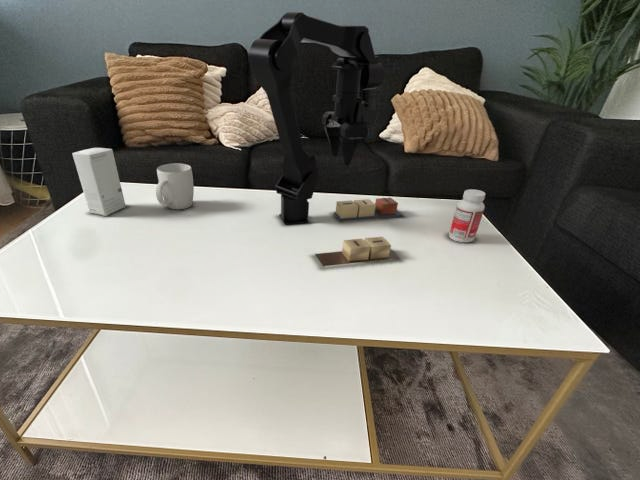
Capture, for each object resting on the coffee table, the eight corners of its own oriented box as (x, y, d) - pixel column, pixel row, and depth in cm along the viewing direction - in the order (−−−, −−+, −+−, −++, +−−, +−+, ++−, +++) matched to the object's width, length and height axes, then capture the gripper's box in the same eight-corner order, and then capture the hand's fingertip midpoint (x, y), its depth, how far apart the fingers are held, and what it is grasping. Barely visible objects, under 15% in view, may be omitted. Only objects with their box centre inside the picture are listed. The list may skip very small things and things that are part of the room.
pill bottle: (470, 233, 103) (484, 188, 96) (477, 243, 98) (493, 197, 91) (445, 232, 103) (458, 187, 96) (451, 242, 99) (465, 196, 92)
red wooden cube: (380, 215, 110) (382, 203, 108) (374, 209, 113) (375, 198, 111) (396, 214, 111) (398, 202, 109) (388, 208, 114) (390, 197, 112)
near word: (322, 268, 87) (324, 252, 85) (314, 256, 92) (315, 240, 89) (398, 260, 91) (402, 245, 88) (387, 249, 95) (390, 234, 93)
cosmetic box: (105, 216, 107) (89, 155, 97) (88, 213, 109) (70, 152, 99) (127, 206, 113) (113, 147, 103) (110, 203, 114) (94, 145, 105)
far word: (340, 221, 107) (342, 208, 105) (333, 213, 112) (334, 200, 109) (402, 216, 111) (405, 203, 109) (392, 209, 115) (395, 195, 113)
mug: (176, 198, 119) (170, 161, 112) (202, 203, 116) (197, 165, 109) (148, 212, 110) (140, 173, 103) (175, 218, 107) (169, 178, 101)
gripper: (394, 97, 94) (382, 168, 104) (363, 86, 107) (355, 150, 118) (349, 97, 91) (342, 171, 102) (323, 86, 105) (319, 152, 115)
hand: (340, 160), depth 109 cm, fingers open, 9 cm apart
